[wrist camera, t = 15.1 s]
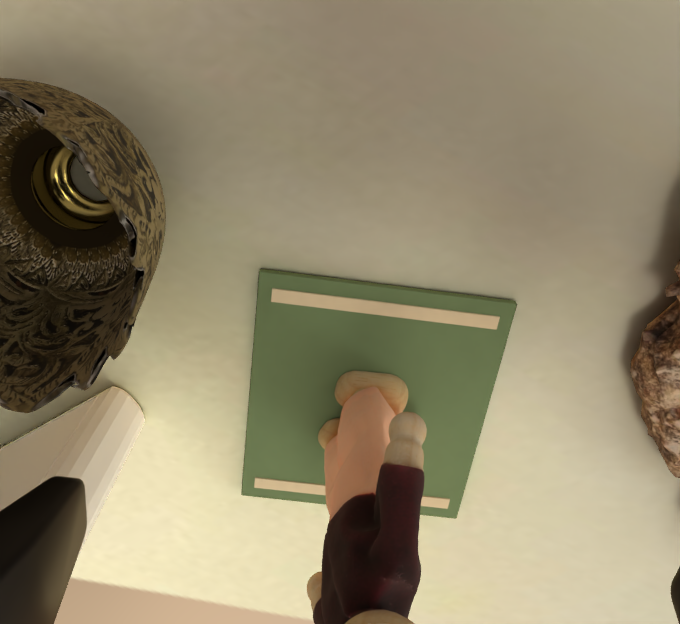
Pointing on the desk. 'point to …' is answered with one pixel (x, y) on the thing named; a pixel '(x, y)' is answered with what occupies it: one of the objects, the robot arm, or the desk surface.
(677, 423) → the stone
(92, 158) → the cup
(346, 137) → the desk surface
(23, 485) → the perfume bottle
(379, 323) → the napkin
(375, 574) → the grandmother figurine
